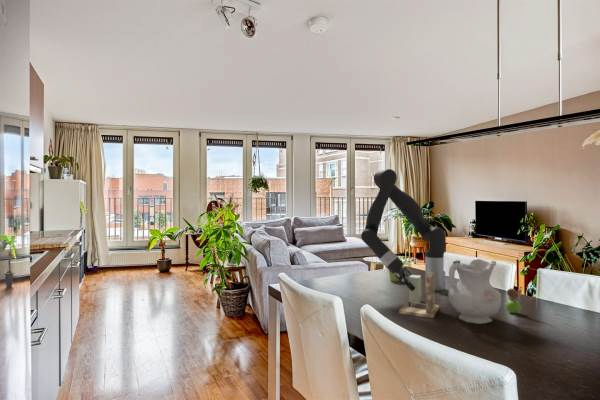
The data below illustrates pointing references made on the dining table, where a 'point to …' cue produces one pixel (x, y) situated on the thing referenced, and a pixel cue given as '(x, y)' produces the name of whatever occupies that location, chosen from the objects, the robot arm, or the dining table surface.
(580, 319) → the dining table surface
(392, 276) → the plant pot
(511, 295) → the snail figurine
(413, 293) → the pale green block
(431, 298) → the hinge base
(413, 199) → the robot arm
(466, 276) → the ceramic pitcher
